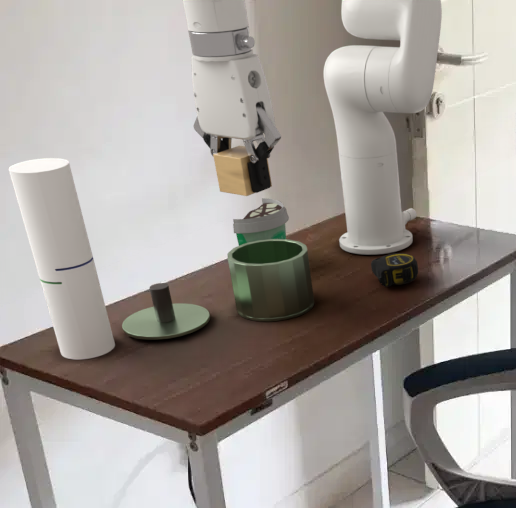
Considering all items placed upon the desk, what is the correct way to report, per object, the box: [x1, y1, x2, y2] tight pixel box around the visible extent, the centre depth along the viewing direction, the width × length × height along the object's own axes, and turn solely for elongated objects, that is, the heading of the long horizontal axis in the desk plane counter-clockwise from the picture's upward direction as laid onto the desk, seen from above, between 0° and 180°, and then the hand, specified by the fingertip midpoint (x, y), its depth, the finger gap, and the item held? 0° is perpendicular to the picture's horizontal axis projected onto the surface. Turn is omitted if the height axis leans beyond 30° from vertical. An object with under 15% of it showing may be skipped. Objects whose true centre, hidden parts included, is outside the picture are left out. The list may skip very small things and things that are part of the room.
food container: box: [232, 197, 290, 246], centre depth 161 cm, size 12×6×10 cm, turn 168°
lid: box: [121, 282, 211, 341], centre depth 144 cm, size 12×12×6 cm
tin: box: [227, 238, 315, 323], centre depth 148 cm, size 11×11×8 cm
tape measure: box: [370, 252, 419, 288], centre depth 157 cm, size 7×7×4 cm
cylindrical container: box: [8, 157, 116, 360], centre depth 133 cm, size 7×7×25 cm
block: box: [212, 145, 273, 197], centre depth 136 cm, size 5×5×5 cm
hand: (245, 185), depth 137 cm, fingers closed on block, 5 cm apart
